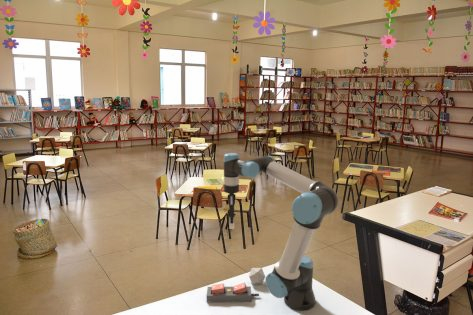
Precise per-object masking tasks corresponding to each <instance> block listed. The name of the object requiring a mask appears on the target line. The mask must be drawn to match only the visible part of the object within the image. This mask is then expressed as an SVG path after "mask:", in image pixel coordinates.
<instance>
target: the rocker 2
mask: <svg viewBox="0 0 473 315" xmlns="http://www.w3.org/2000/svg"><path fill="white" fill-rule="evenodd" d="M246 286H247V285H246V282H242V283H239V284H236V285H234V286H233V287H234V293H235V294H240V293H243V292H246V291H247V288H246Z"/></svg>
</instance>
